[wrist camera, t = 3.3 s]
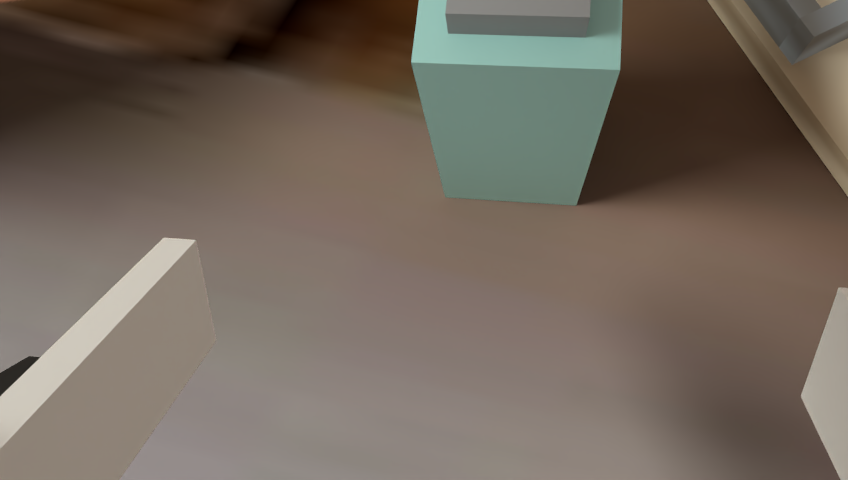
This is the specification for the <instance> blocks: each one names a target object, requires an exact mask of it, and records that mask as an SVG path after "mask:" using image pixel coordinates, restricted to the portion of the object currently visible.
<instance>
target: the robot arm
mask: <svg viewBox="0 0 848 480" xmlns="http://www.w3.org/2000/svg"><path fill="white" fill-rule="evenodd" d="M215 342H216V336H215V331H214V326H213V321H212V316H211V311H210V306H209V301H208V296H207V291H206V286H205V281H204V276H203V271H202V266H201V261H200V256H199V251H198V246H197V241H196V240H189V239H175V238H163V239H162V240H161V241H160V242H159V243H158V244H157V245H156V246H155V247H154V248H153V249H152V250H151V251H150V252H149V253H147V254H146V255H145V256H144V257H143V258H142V259H141V260H140V261H139V262H138V263H137V264H136V265H135V266H134V267H133V268H132V269H131V270H130V271H129V272H128V273H127V274H126V275H125V276H124V277H123V278H122V279H121V280H120V281H119V282H118V283H117V284H116V285H114V286H113V287H112V288H111V289H110V290H109V291H108V292H107V293H106V294H105V295H104V296H103V297H102V298H101V299H100V300H99V301H98V302H97V303H96V304H95V305H94V306H93V307H92V308H91V309H90V310H89V311H88V312H87V313H86V314H85V315H84V316H83V317H81V318H80V319H79V320H78V321H77V322H76V323H75V324H74V325H73V326H72V327H71V328H70V329H69V330H68V331H67V332H66V333H65V334H64V335H63V336H62V337H61V338H60V339H59V340H58V341H57V342H56V343H55V344H54V345H53V346H52V347H51V348H50V349H48V350H47V351H46V352H45V353H44V354H43V355H42V356H41V357H32V356H29V357H27V358H25V359H24V360H22V361H20V362H18V363H17V364H15V365H13V366H12V367H10V368H8V369H6V370H5V371H3V372H1V373H0V480H119V479H120V478H121V477H122V475H123V474H124V472H125V471H126V469H127V468H128V467H129V465H130V464H131V462H132V461H133V459H134V458H135V457H136V455H137V454H138V452H139V451H140V449H141V448H142V447H143V445H144V444H145V442H146V441H147V439H148V438H149V436H150V435H151V434H152V432H153V431H154V429H155V428H156V426H157V425H158V424H159V422H160V421H161V419H162V418H163V416H164V415H165V414H166V412H167V411H168V409H169V408H170V406H171V405H172V403H173V402H174V401H175V399H176V398H177V396H178V395H179V393H180V392H181V391H182V389H183V388H184V386H185V385H186V383H187V382H188V381H189V379H190V378H191V376H192V375H193V373H194V372H195V370H196V369H197V368H198V366H199V365H200V363H201V362H202V360H203V359H204V358H205V356H206V355H207V353H208V352H209V350H210V349H211V348H212V346H213V345H214V343H215ZM801 398H802V400H803V402H804V404H805V406H806V409H807V411H808V413H809V415H810V417H811V419H812V421H813V423H814V425H815V427H816V429H817V432H818V434H819V436H820V438H821V440H822V442H823V444H824V446H825V448H826V450H827V453H828V455H829V457H830V459H831V461H832V463H833V465H834V467H835V469H836V471H837V473H838V476H839V478H840V480H848V288H841V287H839V288H838V291H837V294H836V297H835V300H834V303H833V306H832V308H831V311H830V314H829V317H828V320H827V323H826V326H825V329H824V331H823V334H822V337H821V340H820V343H819V346H818V349H817V351H816V354H815V357H814V360H813V363H812V366H811V369H810V371H809V374H808V377H807V380H806V383H805V386H804V389H803V392H802V394H801Z"/></svg>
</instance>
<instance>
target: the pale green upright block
mask: <svg viewBox="0 0 848 480" xmlns="http://www.w3.org/2000/svg"><path fill="white" fill-rule="evenodd" d="M622 2H623V0H419V3H418V11H417V20H416V28H415V36H414V44H413V52H412V60H411V64H412V68H413V72H414V76H415V80H416V84H417V88H418V91H419V95H420V99H421V103H422V107H423V111H424V115H425V119H426V123H427V127H428V131H429V135H430V139H431V143H432V147H433V151H434V154H435V158H436V162H437V166H438V170H439V174H440V178H441V182H442V186H443V190H444V194H445V197H449V198H465V199H481V200H496V201H512V202H528V203H544V204H559V205H575V206H576V205H577V202H578V199H579V196H580V193H581V190H582V187H583V184H584V180H585V177H586V174H587V171H588V168H589V165H590V162H591V159H592V156H593V153H594V149H595V146H596V143H597V140H598V137H599V134H600V131H601V128H602V125H603V122H604V118H605V115H606V112H607V109H608V106H609V103H610V100H611V97H612V94H613V91H614V88H615V84H616V81H617V78H618V75H619V72H620V61H621V31H622Z"/></svg>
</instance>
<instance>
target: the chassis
mask: <svg viewBox="0 0 848 480" xmlns="http://www.w3.org/2000/svg"><path fill="white" fill-rule="evenodd" d="M707 1H708V3H709V4H710V5H711V7H712V8H713V10H714V11H715V12H716V14H717V15H718V17H719V18H720V19H721V21H722V22H723V23H724V25H725V26H726V28H727V29H728V30H729V32H730V33H731V35H732V36H733V37H734V39H735V40H736V42H737V43H738V44H739V46H740V47H741V49H742V50H743V51H744V53H745V54H746V56H747V57H748V58H749V60H750V61H751V62H752V64H753V65H754V67H755V68H756V69H757V71H758V72H759V74H760V75H761V76H762V78H763V79H764V81H765V82H766V83H767V85H768V86H769V88H770V89H771V90H772V92H773V93H774V95H775V96H776V97H777V99H778V100H779V102H780V103H781V104H782V106H783V107H784V108H785V110H786V111H787V113H788V114H789V115H790V117H791V118H792V120H793V121H794V122H795V124H796V125H797V127H798V128H799V129H800V131H801V132H802V134H803V135H804V136H805V138H806V139H807V141H808V142H809V143H810V145H811V146H812V147H813V149H814V150H815V152H816V153H817V154H818V156H819V157H820V159H821V160H822V161H823V163H824V164H825V166H826V167H827V168H828V170H829V171H830V173H831V174H832V175H833V177H834V178H835V180H836V181H837V182H838V184H839V185H840V186H841V188H842V189H843V191H844V192H845V193H846V195H847V196H848V0H707Z"/></svg>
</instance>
